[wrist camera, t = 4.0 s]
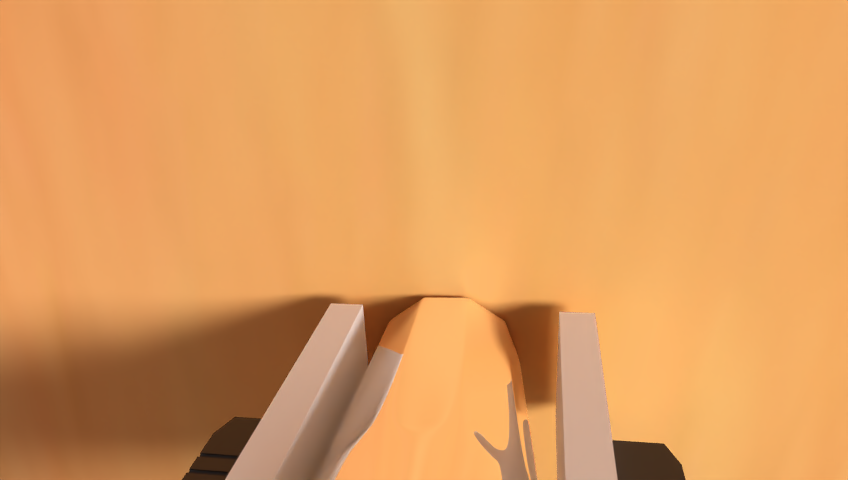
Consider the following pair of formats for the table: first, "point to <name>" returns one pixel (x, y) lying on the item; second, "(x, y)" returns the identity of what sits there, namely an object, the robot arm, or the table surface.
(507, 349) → the milkshake
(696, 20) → the table surface
